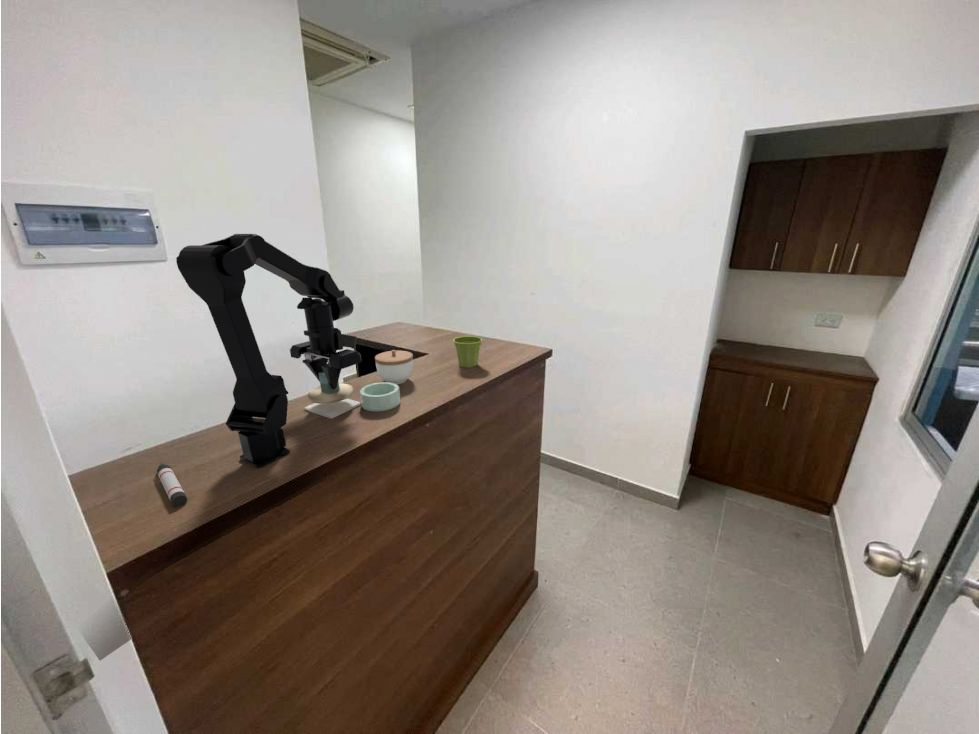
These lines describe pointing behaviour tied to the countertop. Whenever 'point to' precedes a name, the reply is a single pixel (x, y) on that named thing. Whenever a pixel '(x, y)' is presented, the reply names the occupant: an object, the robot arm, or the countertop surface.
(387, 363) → the lidded jar
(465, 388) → the countertop surface
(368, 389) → the bowl
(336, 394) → the lid
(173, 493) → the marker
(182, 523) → the countertop surface
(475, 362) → the plant pot
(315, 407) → the mat
